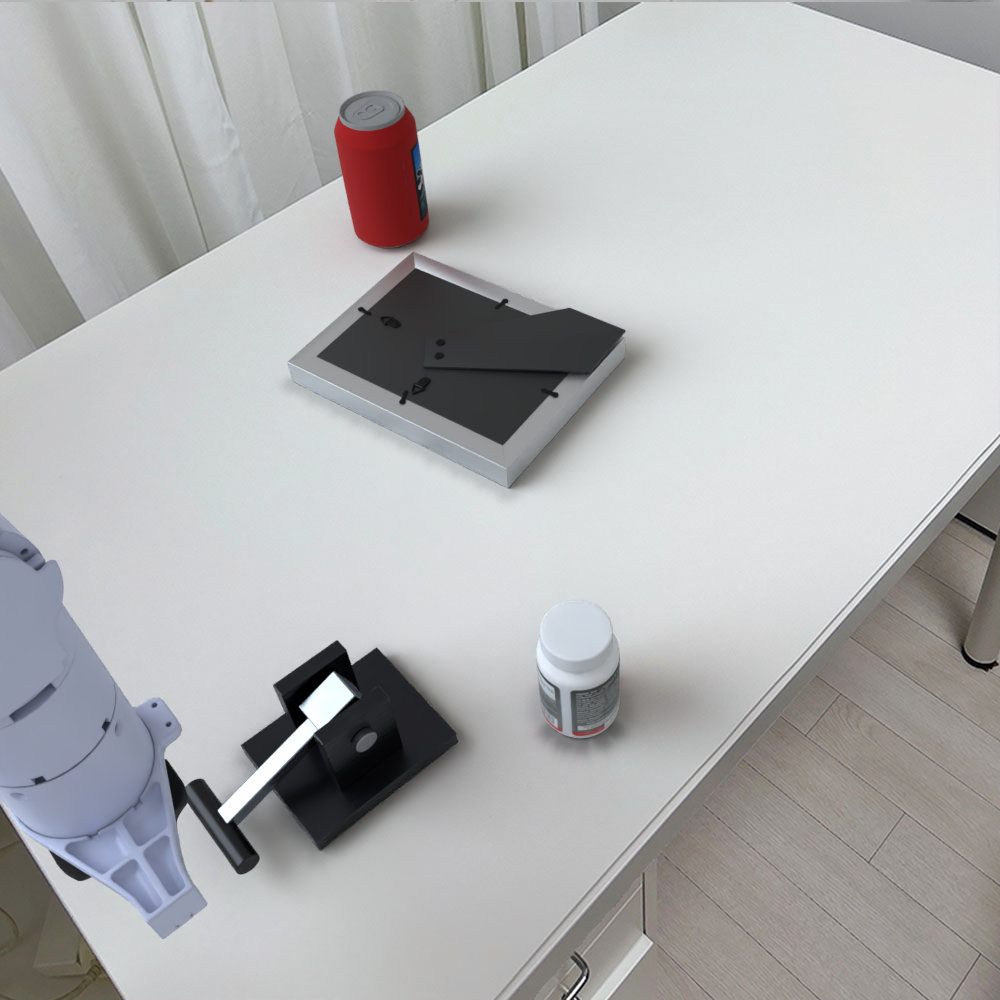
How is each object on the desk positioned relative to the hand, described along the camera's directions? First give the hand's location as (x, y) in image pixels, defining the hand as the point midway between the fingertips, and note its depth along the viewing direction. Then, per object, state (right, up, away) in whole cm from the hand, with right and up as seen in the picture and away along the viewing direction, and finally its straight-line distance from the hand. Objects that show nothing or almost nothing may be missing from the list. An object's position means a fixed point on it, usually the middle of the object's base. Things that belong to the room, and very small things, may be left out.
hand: (155, 857), depth 51 cm
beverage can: (+6, +40, +47) cm, 62 cm away
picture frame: (+13, +27, +35) cm, 46 cm away
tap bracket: (+7, +2, +14) cm, 16 cm away
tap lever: (+4, +1, +11) cm, 12 cm away
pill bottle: (+21, +4, +15) cm, 26 cm away
